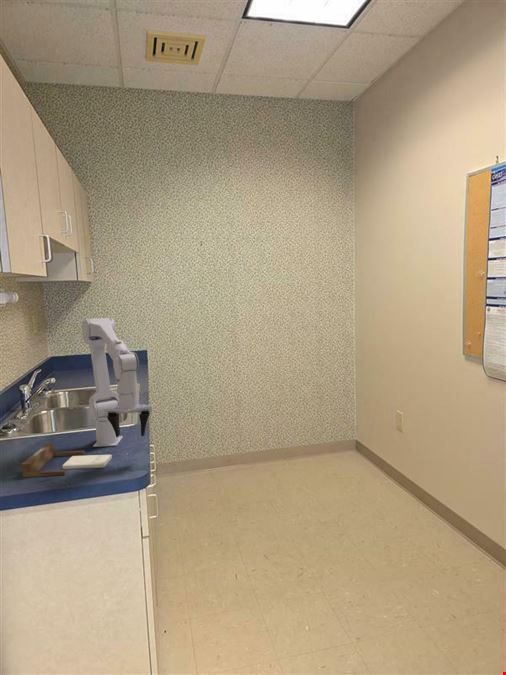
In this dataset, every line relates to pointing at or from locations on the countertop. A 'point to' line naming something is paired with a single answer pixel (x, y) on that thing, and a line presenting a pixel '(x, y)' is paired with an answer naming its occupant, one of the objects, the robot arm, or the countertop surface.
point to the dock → (44, 461)
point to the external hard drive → (87, 461)
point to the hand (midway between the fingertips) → (130, 435)
